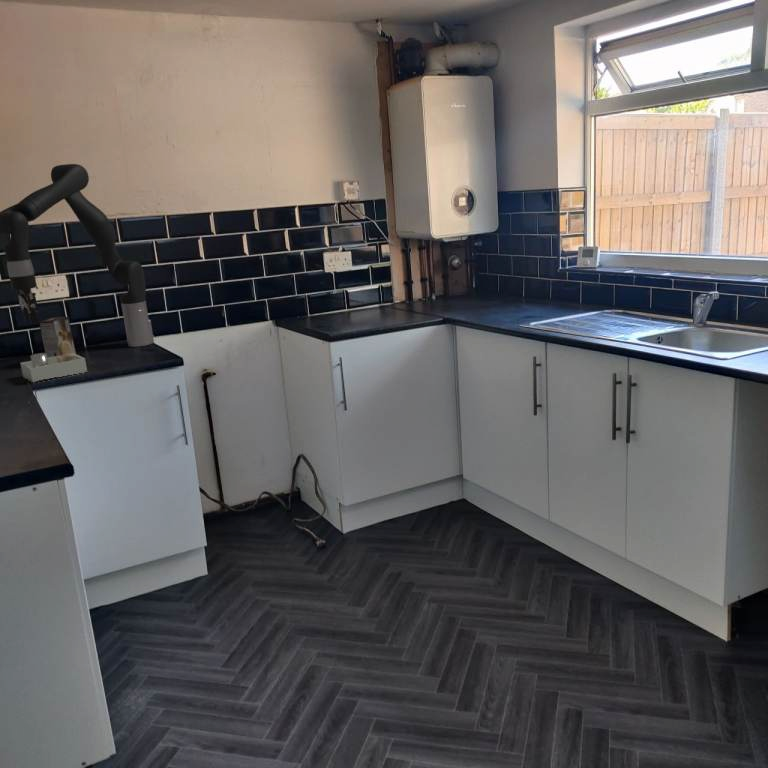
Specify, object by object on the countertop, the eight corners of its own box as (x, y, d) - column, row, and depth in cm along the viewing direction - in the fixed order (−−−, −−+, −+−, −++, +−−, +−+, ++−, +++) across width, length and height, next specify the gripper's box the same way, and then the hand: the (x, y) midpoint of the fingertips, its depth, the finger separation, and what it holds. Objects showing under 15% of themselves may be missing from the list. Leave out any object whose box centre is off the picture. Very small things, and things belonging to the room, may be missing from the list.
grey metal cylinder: (48, 372, 251) (44, 352, 249) (52, 374, 247) (48, 354, 245) (33, 375, 248) (28, 355, 246) (36, 377, 244) (32, 357, 242)
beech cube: (73, 367, 255) (71, 353, 254) (78, 369, 252) (75, 355, 250) (59, 370, 252) (56, 356, 251) (63, 372, 249) (60, 358, 247)
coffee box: (62, 358, 275) (54, 316, 271) (77, 358, 274) (69, 316, 270) (46, 364, 267) (38, 321, 262) (62, 364, 265) (53, 321, 261)
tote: (75, 366, 260) (73, 352, 259) (87, 372, 250) (84, 358, 248) (23, 376, 250) (20, 362, 248) (33, 383, 239) (30, 368, 238)
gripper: (39, 273, 234) (49, 323, 239) (28, 271, 245) (38, 318, 250) (14, 277, 230) (25, 327, 235) (4, 274, 241) (14, 322, 245)
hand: (31, 322), depth 242 cm, fingers open, 8 cm apart
